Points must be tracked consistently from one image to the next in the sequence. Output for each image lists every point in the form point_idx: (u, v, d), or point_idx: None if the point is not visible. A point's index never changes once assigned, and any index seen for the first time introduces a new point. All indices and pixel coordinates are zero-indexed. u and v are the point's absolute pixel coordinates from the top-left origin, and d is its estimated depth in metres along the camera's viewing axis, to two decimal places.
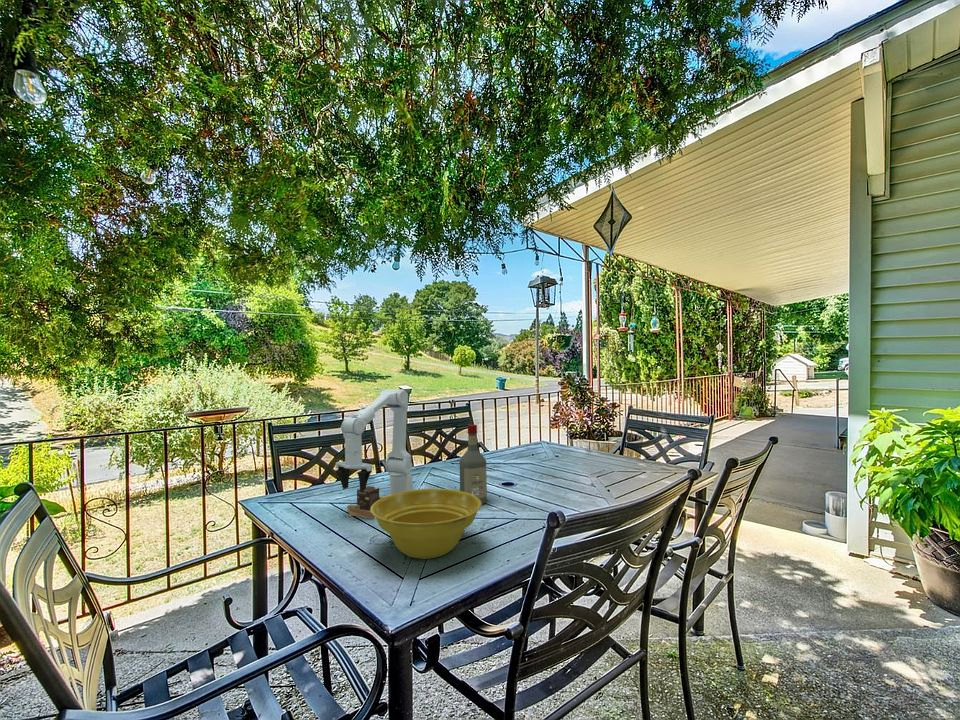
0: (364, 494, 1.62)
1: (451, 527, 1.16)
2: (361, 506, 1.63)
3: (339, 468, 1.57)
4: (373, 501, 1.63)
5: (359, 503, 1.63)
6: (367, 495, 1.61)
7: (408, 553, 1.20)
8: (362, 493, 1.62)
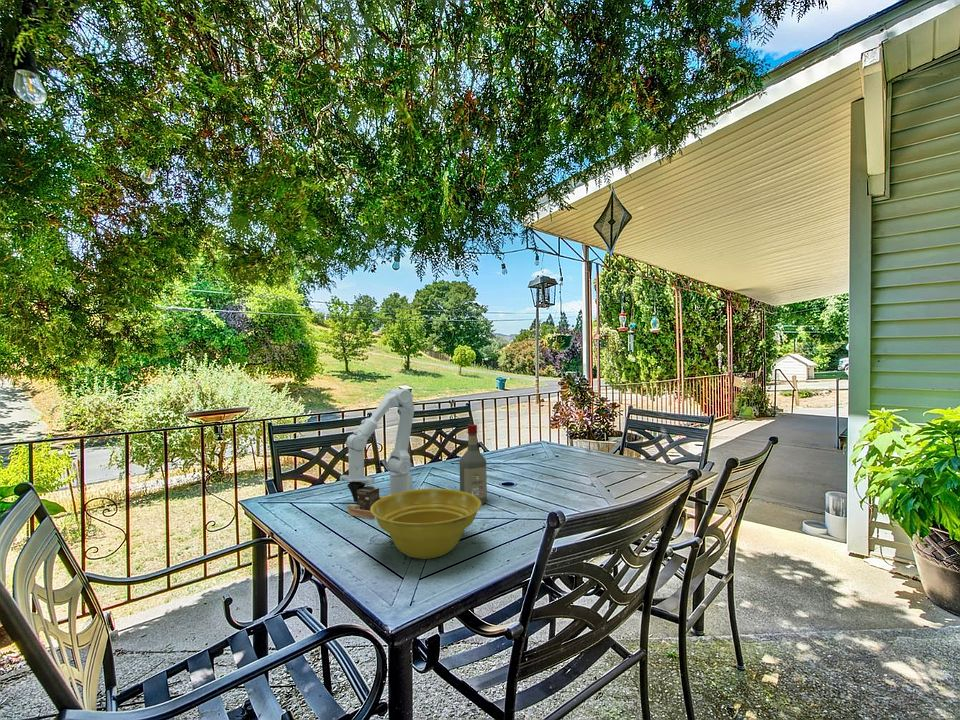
0: (364, 494, 1.62)
1: (451, 527, 1.16)
2: (361, 506, 1.63)
3: None
4: (373, 501, 1.63)
5: (359, 503, 1.63)
6: (367, 495, 1.61)
7: (408, 553, 1.20)
8: (362, 493, 1.62)
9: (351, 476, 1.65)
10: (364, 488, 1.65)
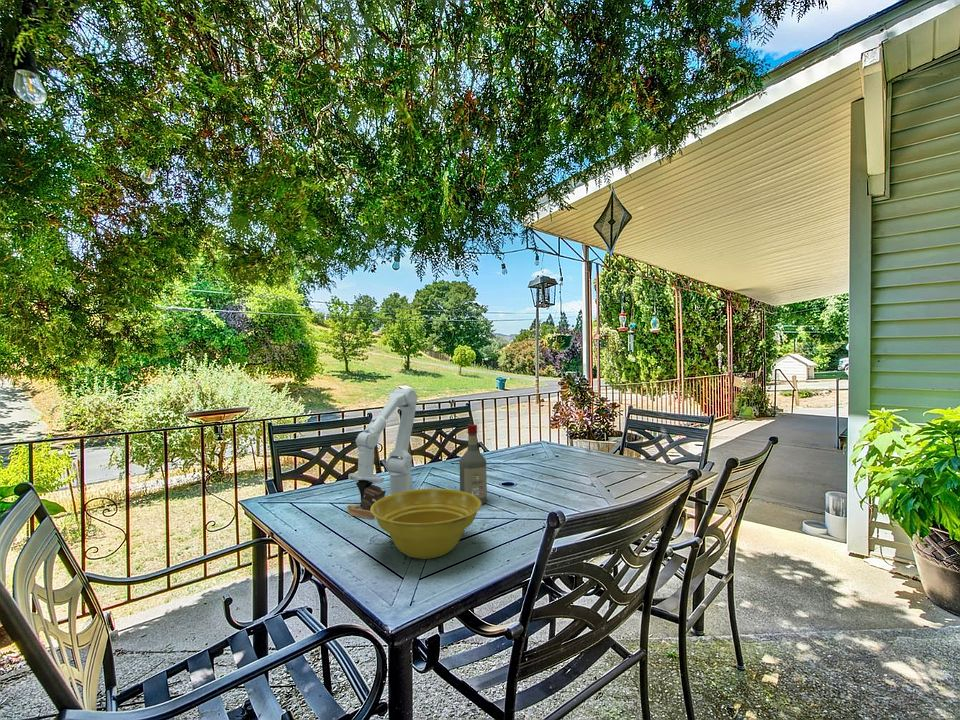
0: (371, 495, 1.60)
1: (451, 527, 1.16)
2: (365, 505, 1.61)
3: None
4: None
5: (364, 502, 1.61)
6: (375, 497, 1.60)
7: (408, 553, 1.20)
8: (370, 494, 1.60)
9: (360, 474, 1.62)
10: (371, 488, 1.63)
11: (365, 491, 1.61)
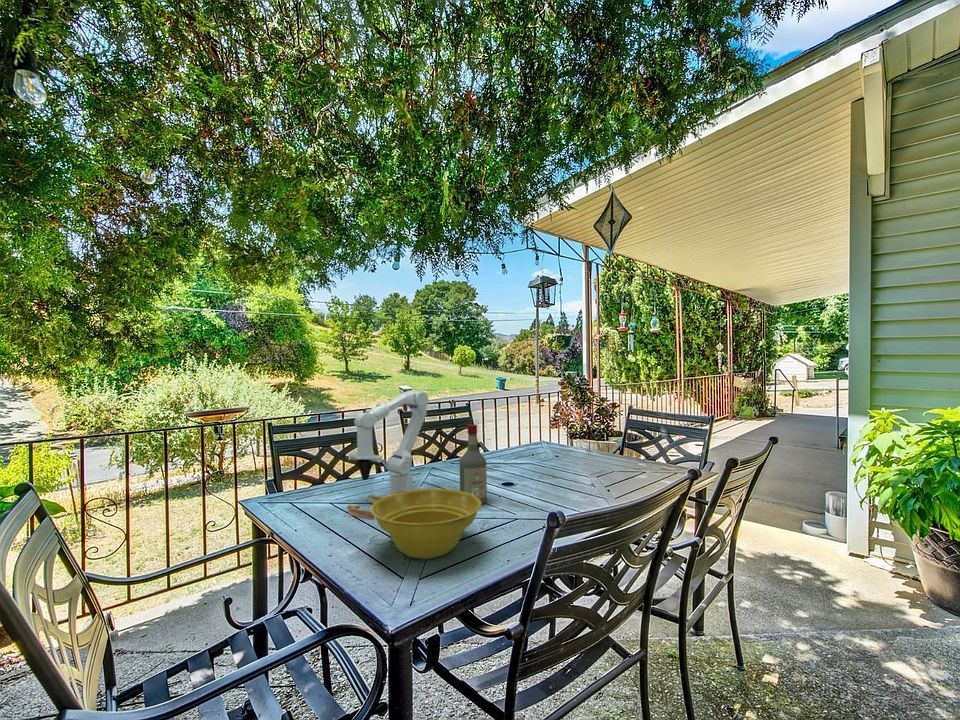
0: None
1: (451, 527, 1.16)
2: None
3: None
4: None
5: None
6: None
7: (408, 553, 1.20)
8: None
9: (360, 454, 1.66)
10: None
11: None
